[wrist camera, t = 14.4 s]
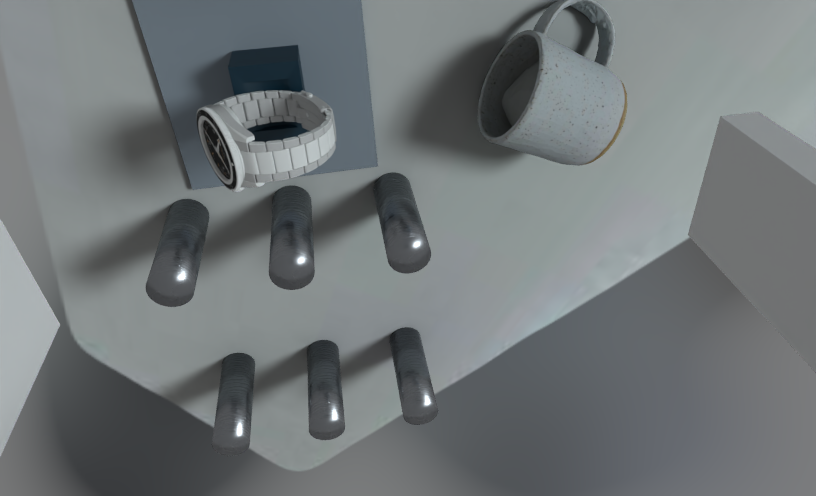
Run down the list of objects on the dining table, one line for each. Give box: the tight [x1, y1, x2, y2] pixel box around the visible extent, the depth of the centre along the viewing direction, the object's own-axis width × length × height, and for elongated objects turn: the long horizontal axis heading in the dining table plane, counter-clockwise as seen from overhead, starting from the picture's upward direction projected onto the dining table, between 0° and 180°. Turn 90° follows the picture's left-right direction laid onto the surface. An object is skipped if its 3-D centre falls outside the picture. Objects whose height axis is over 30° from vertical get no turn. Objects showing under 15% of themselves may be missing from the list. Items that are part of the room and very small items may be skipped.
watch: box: [196, 45, 336, 192], centre depth 37 cm, size 6×8×11 cm
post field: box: [146, 173, 438, 456], centre depth 49 cm, size 20×19×9 cm
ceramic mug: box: [478, 0, 627, 165], centre depth 41 cm, size 11×8×8 cm
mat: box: [132, 0, 378, 190], centre depth 41 cm, size 14×14×1 cm
